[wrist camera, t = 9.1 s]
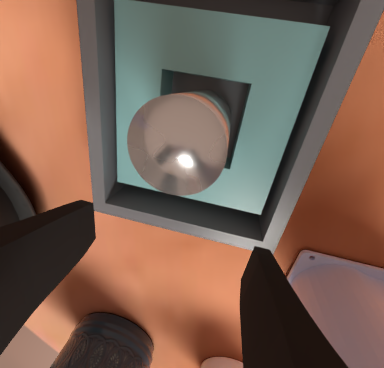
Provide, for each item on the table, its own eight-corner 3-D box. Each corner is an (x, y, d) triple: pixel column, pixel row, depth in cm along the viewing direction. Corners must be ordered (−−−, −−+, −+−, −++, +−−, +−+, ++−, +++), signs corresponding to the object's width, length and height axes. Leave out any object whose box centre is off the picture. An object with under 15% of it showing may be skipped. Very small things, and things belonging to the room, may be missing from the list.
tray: (352, -9, 12) (414, -59, 8) (264, 219, 19) (272, 255, 15) (120, -35, 13) (69, -89, 9) (121, 186, 20) (93, 210, 16)
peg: (237, 95, 14) (239, 106, 7) (224, 151, 16) (214, 205, 9) (181, 85, 14) (127, 85, 7) (174, 140, 16) (126, 184, 9)
